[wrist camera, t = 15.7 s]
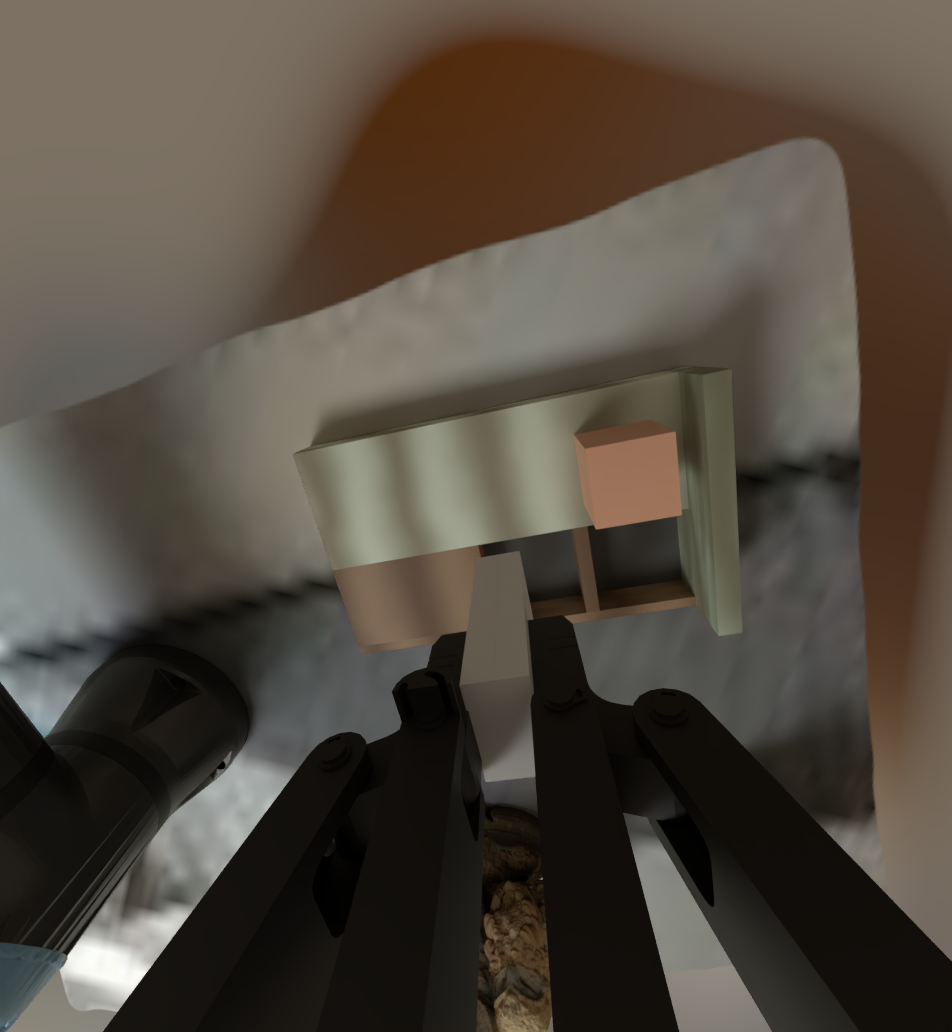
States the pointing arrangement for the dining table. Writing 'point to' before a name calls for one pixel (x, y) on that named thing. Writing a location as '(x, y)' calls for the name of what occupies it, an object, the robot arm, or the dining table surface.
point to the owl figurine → (513, 928)
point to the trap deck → (527, 512)
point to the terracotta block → (629, 473)
